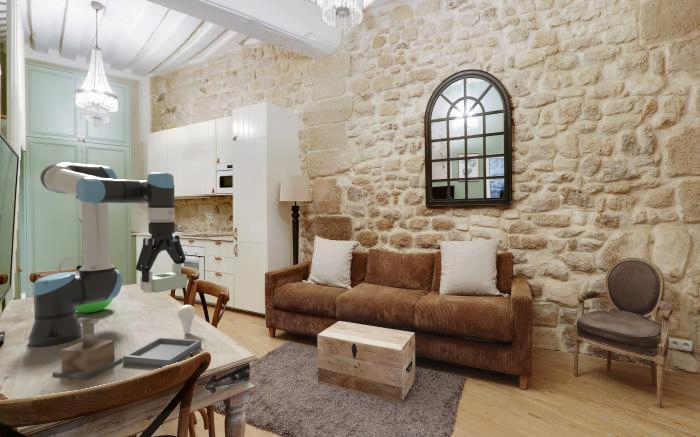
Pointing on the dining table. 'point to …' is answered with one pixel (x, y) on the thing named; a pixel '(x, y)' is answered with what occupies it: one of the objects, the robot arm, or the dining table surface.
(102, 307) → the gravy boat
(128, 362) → the tray
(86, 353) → the stake block
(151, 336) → the dining table surface
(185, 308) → the lightbulb
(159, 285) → the collar
